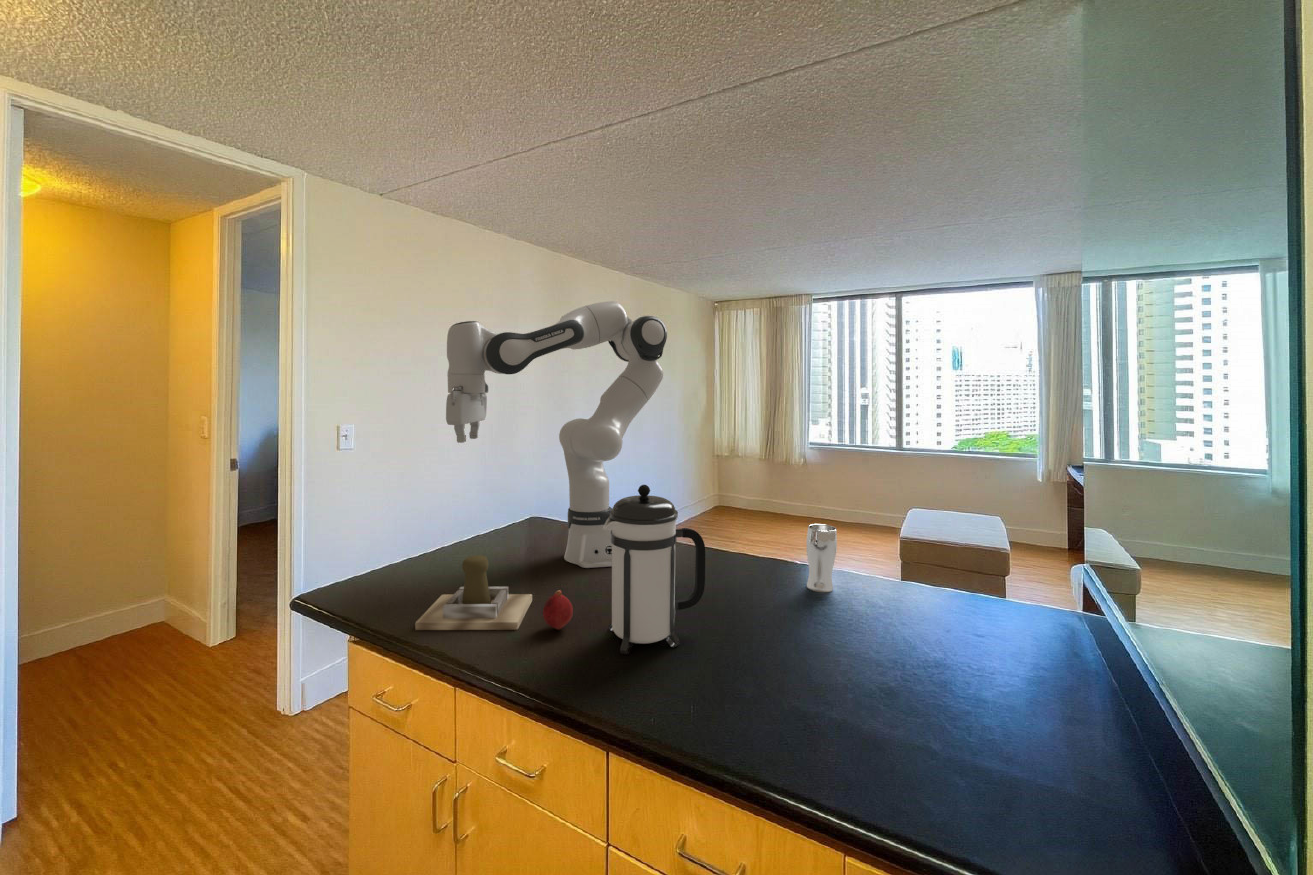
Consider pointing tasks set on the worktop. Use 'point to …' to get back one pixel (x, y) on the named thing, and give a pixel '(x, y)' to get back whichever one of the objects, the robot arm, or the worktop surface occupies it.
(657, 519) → the coffee press
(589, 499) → the robot arm
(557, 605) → the red rounded piece
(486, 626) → the collar board
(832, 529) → the beer glass
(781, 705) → the worktop surface
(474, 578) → the cork
